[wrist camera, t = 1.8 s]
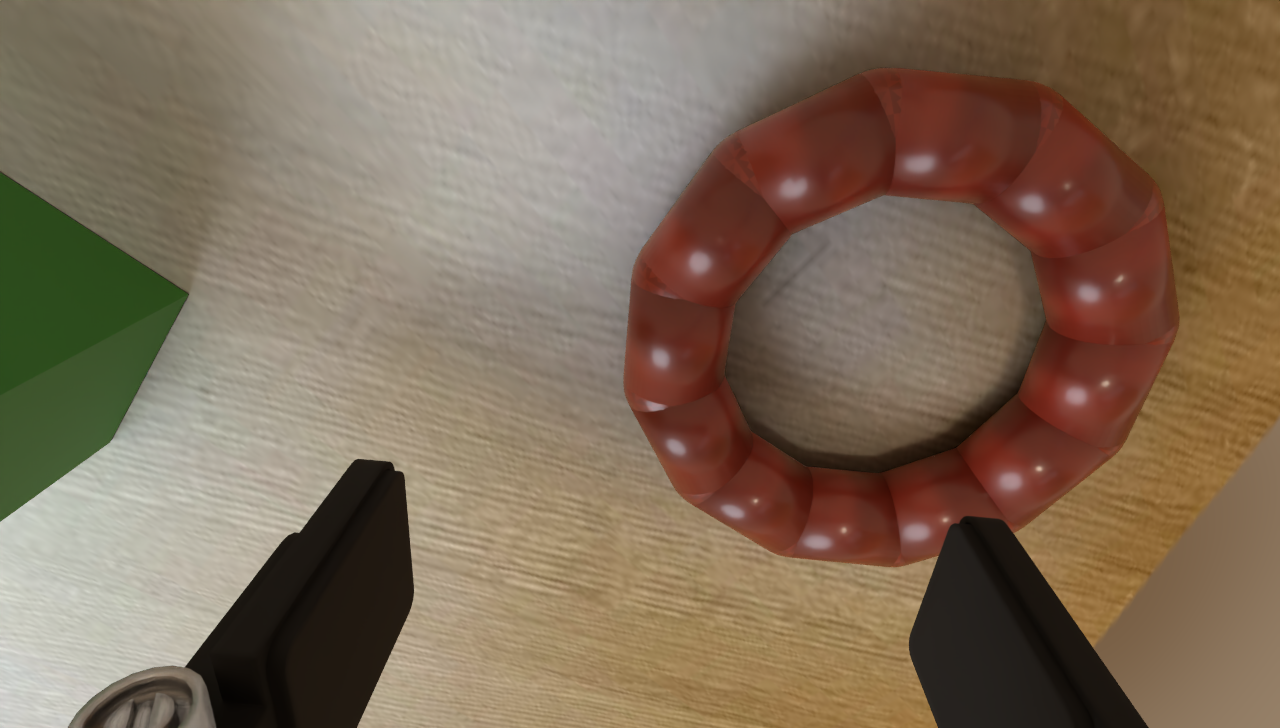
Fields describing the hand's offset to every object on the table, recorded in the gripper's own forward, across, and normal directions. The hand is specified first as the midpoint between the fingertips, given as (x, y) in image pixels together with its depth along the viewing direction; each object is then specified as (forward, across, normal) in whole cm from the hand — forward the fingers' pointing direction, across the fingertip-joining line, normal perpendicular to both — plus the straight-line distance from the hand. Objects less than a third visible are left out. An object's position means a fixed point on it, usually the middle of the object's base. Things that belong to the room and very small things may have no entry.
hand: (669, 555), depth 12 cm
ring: (+9, -6, 0) cm, 11 cm away
